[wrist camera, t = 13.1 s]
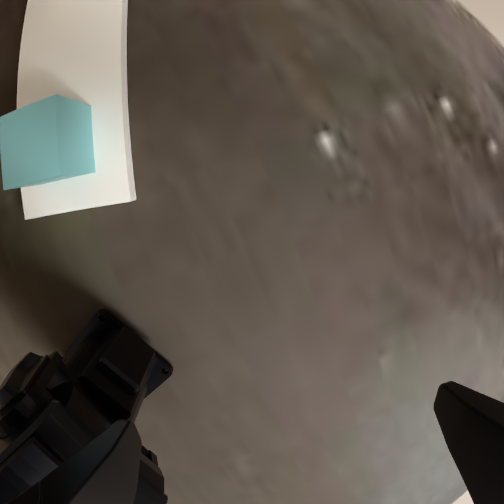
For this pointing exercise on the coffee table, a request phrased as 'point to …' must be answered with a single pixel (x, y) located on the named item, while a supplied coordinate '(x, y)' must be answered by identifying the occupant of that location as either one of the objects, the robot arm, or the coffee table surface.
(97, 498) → the robot arm
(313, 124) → the coffee table surface
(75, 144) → the teal block
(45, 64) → the white base with post
